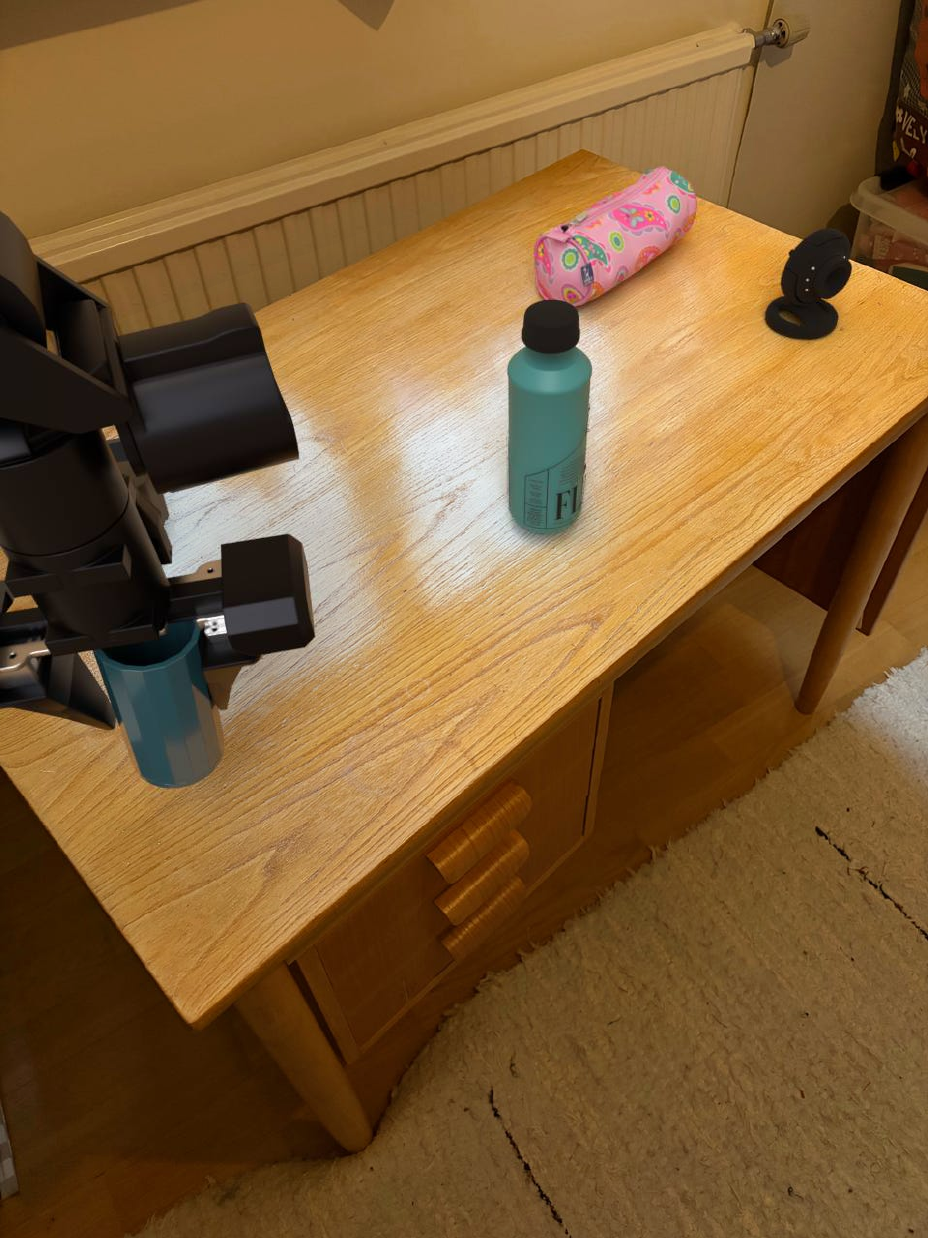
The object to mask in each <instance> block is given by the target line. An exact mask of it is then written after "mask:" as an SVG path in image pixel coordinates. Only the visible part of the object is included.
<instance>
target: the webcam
mask: <svg viewBox="0 0 928 1238" xmlns="http://www.w3.org/2000/svg"><path fill="white" fill-rule="evenodd" d="M850 257H851V242H850V239H849V238H848V237H847V234H845V233H844V232H843V231H841V229H840V230H839V229H834V228H831V227H826V228H820V229H818V230H815V231H813V232H811V233H810V234H809V235H808V236H807V237H805V238H803V239H802V240H801V241H800V242H799V243H798V244H797V245H796V246H795V247H794V249H793V248H792V249H790V250H789V251H788V258H787V260H786V262H785V264H784V266H783V269H782V272H781V277H780V288H781V293H782V296H779V297H777V298H775V299H774V300H772V301H771V302H769V303H768V305H767V307H766V309H765V312H764V313H765V314H764V315H765V316H764V318H765V322H766V324H767V325H768V326H769V327H770V328H771V329H772V331H775V332H776V333H778V334H780V335H781V336H784V337H788V338H791V339H796V340H797V339H798V340H816V339H821V338H824V337H826V336H828V335H830V334H831V333H833V331H835V329H836V328H837V327H838V323H839V313H838V311H837V309H836V308H835V307H834V305H832V304H831V303H830V302H828V301H827V300H829V299H832V298H834V297H836V295H838V294H839V293H841V291H842V290H844V288H845V287H846V285H847V284H848V282H849V280H850V278H851V276H852V271H853V265H852V263H851V262H850ZM785 310H787V311H790V312H792V313H793V314H794V315H795V316H797V317H798V318H799V319H800V320H801V322H802V324H801V323H795V322H791V321H789V320H788V319H786V318H784V317H782V315H781V314H780V312H783V311H785Z"/></svg>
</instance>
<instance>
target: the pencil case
mask: <svg viewBox="0 0 928 1238" xmlns="http://www.w3.org/2000/svg"><path fill="white" fill-rule="evenodd" d="M697 208H698V199H697V195H696V191H695V188H694V187H693V185H692V184H691V182H690V181H689V180H688V179H687V178H686V177H684V176H683V175H681V174H679V173H678V172H676V171H674V170H670V169H669V168H667V167H666V166H661V165H660V166H658V167H656V168H651V169H649V170H646V171H644V172H643V173H642V174H641V175H640V176H639V177H638V179H637V181H636V183H634V184H632V185H629V186H627V187H625V188H623V189H622V190H620V191H619V192H616V193H613V194H610V195H607V196H606V197H604V198H602V199H600V200H598V201H596V202H595V203H594V204H592V205H591V206H589V207H588V208H586V209H585V210H584V211H582V212H580V213H578V214H577V215H576V216H575V217H574V218H572V219H570V221H567V222H562V223H560V224H558V225H556V226H553V227H551V228H549V229H547V230H545V231H544V232H542V233H540V235H539V236H538V237H537V239H536V240H535V242H534V246H533V247H534V248H533V260H534V262H533V263H534V278H535V285H536V287H537V291H538V292H539V294H540V295H541V297H542V298H543V300H549V299H555V300H562V301H565V302H568V303H570V304H572V305H573V306H575V307H576V308H577V307H579V306H582V305H585V304H586V303H588V302H591V301H593V300H596V299H597V298H599V297H601V296H603V294H605V293H607V292H609V291H610V290H612V289H613V288H614V287H616V286H618V285H619V284H620V283H622V282H624V281H625V280H627V279H629V278H630V277H632V276H633V275H635V274H636V273H637V272H639V271H640V270H642V268H644V267H645V266H646V265H648V264H649V263H651V262H652V261H653V260H654V259H656V258H657V257H659V255H661V254H663V253H664V252H665V251H666V250H667V249H669V248H670V247H671V246H672V245H674V244H675V243H676V242H678V241H681V240H682V239H683V238H684V237H685V236H687V234H688V233H689V232H690V231H691V229H692V227H693V226H694V224H695V220H696V216H697Z"/></svg>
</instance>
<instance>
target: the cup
mask: <svg viewBox="0 0 928 1238" xmlns="http://www.w3.org/2000/svg"><path fill="white" fill-rule="evenodd" d="M91 651H92V653H93V656H94V658H95V662H96V665H97V667H98V670H99V673H100V676H101V679H102V682H103V685H104V688H105V690H106V693H107V697H108V699H109V701H110V703H111V705H112V708H113V710H114V713H115V716H116V722H117V724H118V727H119V730H120V733H121V736H122V738H123V742H124V744H125V748H126V750H127V754H128V756H129V758H130V761H131V764H132V766H133V768H134V769H135V771H136V773H137V775H138V776H139V777H140V778H141V779H142V780H144V781H145V782H146V783H148V784H150V785H152V786H154V787H157V788H161V789H171V790H174V789H182V788H187V787H190V786H193V785H196V784H197V783H200V782H202V781H203V780H205V779H206V778H207V777H209V776H210V775H211V774H212V773H214V772H215V770H216V769H217V768H218V766H219V765H220V763H221V761H222V759H223V757H224V753H225V748H226V743H225V742H226V741H225V735H224V734H225V733H224V730H223V725H222V720H221V715H220V709H219V708H218V707H217V706H216V705H215V703H214V701H213V699H212V696H211V693H210V691H209V688H208V686H207V683H206V681H205V678H204V675H203V673H202V670H201V630H200V628H199V626H198V623H197V621H196V619H195V620H189V621H183V622H177V623H171V624H169V628H168V632H167V633H166V634H164V635H161V636H159V639H156V640H150V641H144V642H138V643H133V644H127V645H121V646H115V647H109V648H103V649H97V650H91Z"/></svg>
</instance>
